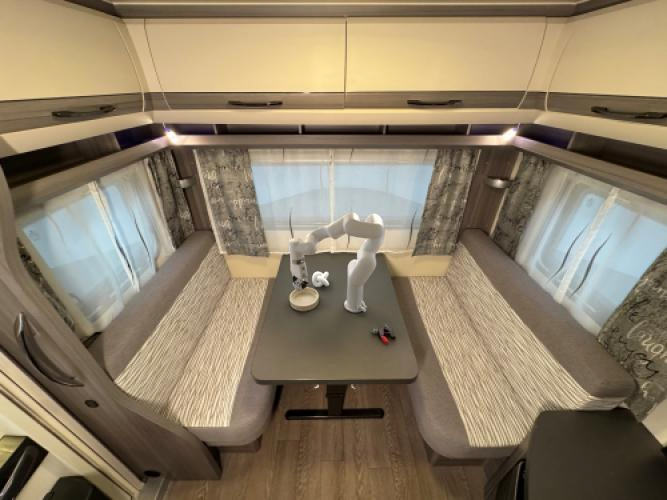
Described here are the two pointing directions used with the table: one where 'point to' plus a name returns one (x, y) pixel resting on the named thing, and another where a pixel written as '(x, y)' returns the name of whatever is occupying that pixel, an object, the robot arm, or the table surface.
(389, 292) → the table surface
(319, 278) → the white knot sculpture
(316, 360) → the table surface
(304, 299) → the bowl
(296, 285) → the game controller
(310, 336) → the table surface
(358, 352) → the table surface
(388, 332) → the toy gun
